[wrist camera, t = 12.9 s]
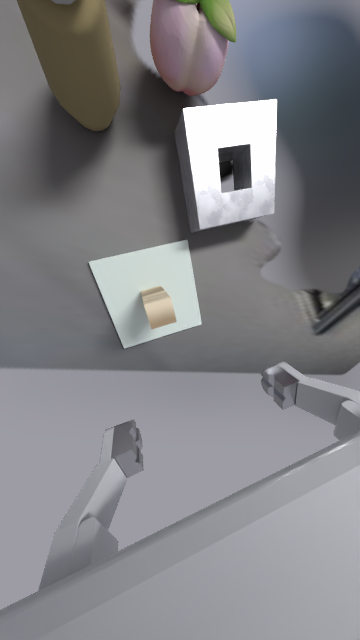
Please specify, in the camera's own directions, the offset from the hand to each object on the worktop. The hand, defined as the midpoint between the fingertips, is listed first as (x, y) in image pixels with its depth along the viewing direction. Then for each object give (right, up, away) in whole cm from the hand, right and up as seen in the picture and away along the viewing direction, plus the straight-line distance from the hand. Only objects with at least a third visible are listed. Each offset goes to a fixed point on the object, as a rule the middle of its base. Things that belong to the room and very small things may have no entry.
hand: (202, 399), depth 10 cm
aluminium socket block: (+6, +29, +20) cm, 36 cm away
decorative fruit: (-2, +40, +14) cm, 42 cm away
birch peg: (-7, +9, +24) cm, 26 cm away
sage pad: (-7, +9, +24) cm, 27 cm away
